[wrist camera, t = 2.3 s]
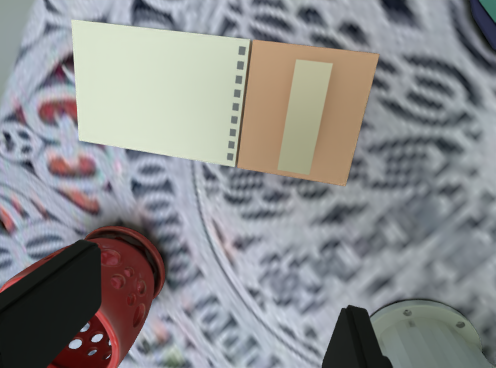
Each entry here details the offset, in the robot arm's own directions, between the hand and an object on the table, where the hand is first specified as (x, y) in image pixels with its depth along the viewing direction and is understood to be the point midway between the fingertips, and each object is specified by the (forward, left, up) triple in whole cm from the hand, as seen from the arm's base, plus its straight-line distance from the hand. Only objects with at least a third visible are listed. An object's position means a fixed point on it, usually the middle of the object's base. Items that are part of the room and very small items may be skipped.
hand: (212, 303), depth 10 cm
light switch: (-3, -6, -20) cm, 21 cm away
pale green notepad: (+12, -6, -20) cm, 25 cm away
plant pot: (+16, +16, -21) cm, 30 cm away
